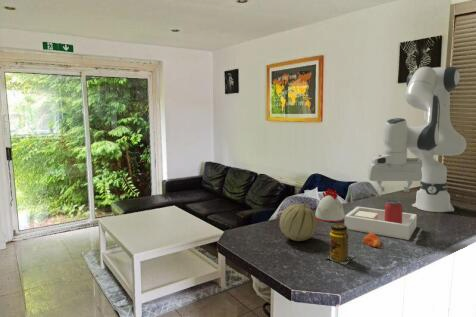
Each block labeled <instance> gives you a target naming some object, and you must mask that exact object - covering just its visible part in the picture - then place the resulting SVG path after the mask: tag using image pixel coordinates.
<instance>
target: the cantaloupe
mask: <svg viewBox="0 0 476 317" xmlns="http://www.w3.org/2000/svg"><path fill="white" fill-rule="evenodd" d="M306 205H307V203H305V202H304V203H303V204H300V203H292V204H289V205H288V206H287V207H286V208H284V210H283V211H282V213H281V215H280V218H279V228H280V231H281V232H282V233H283V235H284V236H285V237H287V238H288V239H290V240H292V241H295V242H304V241H307V240H308V239H311V238H312V237H313V235H315V231H316V229H317V225H318V223H317V222H318V221H317V220H316V216H315V214H316V213H314V211H313V210H312V209H311V208H310V207H309V206H306Z"/></svg>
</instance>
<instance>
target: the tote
mask: <svg viewBox="0 0 476 317" xmlns="http://www.w3.org/2000/svg"><path fill="white" fill-rule="evenodd" d="M359 211H365V212H372V213H378V220H374V219H368V218H361V217H355V216H354V215H355V214H356V213H357V212H359ZM417 219H418V216H417V214H415V213H411V212H410V213H409V212H403V211H402V224H400V223H394V222H387V221H385V209H379V208H373V207H366V206H365V207H364V206H355V207H354V209H352V210H351V211H348V213H346V214H345V216H344V220H343V221H344V223H343V225H345V226H347V230H351V231H357V232H361V233H367V234H369V233H374V234H375V235H378V236H384V237H390V238H396V239H401V240H402V239H403V240H406V241H407V240H408V241H409V240H410V238H411V237H412V235H413V234H414V231H416V228H417Z"/></svg>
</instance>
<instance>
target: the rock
mask: <svg viewBox="0 0 476 317" xmlns="http://www.w3.org/2000/svg"><path fill="white" fill-rule="evenodd" d="M363 244H364V245H366V246H370V247H374V248H380V247H382V246H383V244H382V242H381V240H380V238H379V237H378V236H377V234H374V233H367V235H365V236H364V238H363Z"/></svg>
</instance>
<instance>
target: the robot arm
mask: <svg viewBox="0 0 476 317" xmlns="http://www.w3.org/2000/svg"><path fill="white" fill-rule="evenodd" d="M460 75H461V74H460V71H459V69H458V68H457V67H456V66H446V67H444V66H437V67H431V66H422V67H421V66H420V67H419V68H417V69H416V70H413V71H412V72H409V74H408V75H407V77H406V89H405V94H404V98H405V101H406V102H407V103H408V105H409V106H411V107H413V108H415V109H418V110H421V111H423V121H424V123H425V124H423V125H408V123H407V119H405V118H401V117H398V118H397V117H395V118H390V119H387V121H386V122H385V124H384V129H383V130H384V131H383V143H384V145H383V151H382V152H383V153H380V154H378V155H374V156H372V157H371V159H370V160H371V163H370V164H369V167H368V173H367V174H368V175H367V178H368V180H369V181H371V182H376V183H377V185H378V187H379V192H385V186H382V184H383V183H382V182H406V183H407V185H406V186H403V191H404V192H405V193H407V192H408V193H409V191H410V188H411V186H412V185H413V182H420V184H419V187H420V189H419V190H417V191H416V195H415V196H416V200H415V202H414V203H412V204H411V207H413V208H417V209H418V210H422V211H425V212H432V213H446V212H447V213H448V212H455V208H454V206H453V205H452V203H451V202H452V201H451V194H450V193H449V192H448V183H447V175H448V169H447V166H446V165H445V164H444V163H442V162H440V161H437V160H436V159H435V156H448V157H449V156H457V155H461V154H462V153H464V152H465V151H466V148H467V140H466V138H465V137H464V136H463V135H462V134H460V133H459V132H458V131H456V129H455V128H454V127H453V124H452V122H451V113H450V112H451V95H450V93H451V92H452V90H454V89H456V87H458V85H459V82H460V79H461V76H460ZM408 151H409V152H410V153H411V154H413V155H414V156H415V158H414V157H413V158H410V157H408Z"/></svg>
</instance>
